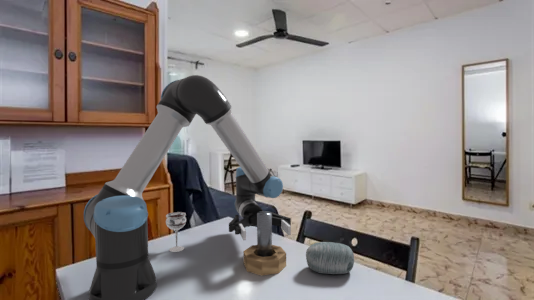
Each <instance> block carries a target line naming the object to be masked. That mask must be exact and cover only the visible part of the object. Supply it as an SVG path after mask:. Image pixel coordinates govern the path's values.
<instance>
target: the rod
mask: <svg viewBox="0 0 534 300" xmlns="http://www.w3.org/2000/svg"><path fill="white" fill-rule="evenodd" d="M271 212H272V211H270V210H269V211H268V210H267V211H266V210H263V211H260V212H258V213H257V225H256V228H257V229H256V231H257V232H256V236H257V237H256V238H257V239H256V243H257V244H256V245H257V256H261V257H268V256H272V245H273V244H272V243H273V235H272V233H273V225H272V213H271Z"/></svg>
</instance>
